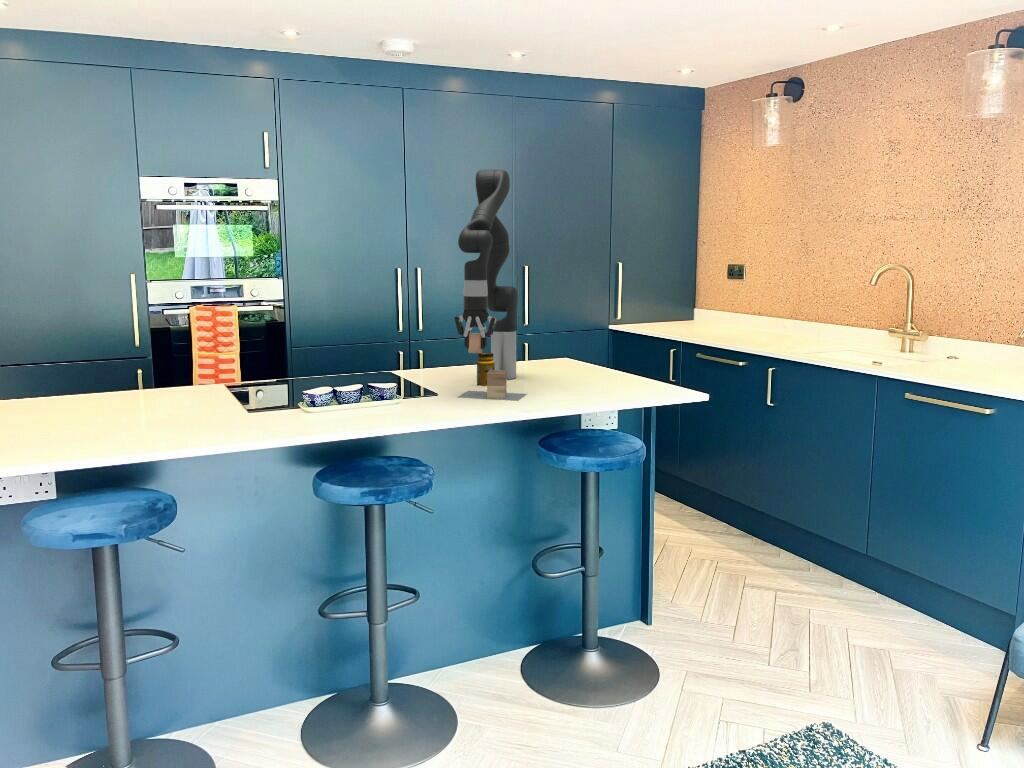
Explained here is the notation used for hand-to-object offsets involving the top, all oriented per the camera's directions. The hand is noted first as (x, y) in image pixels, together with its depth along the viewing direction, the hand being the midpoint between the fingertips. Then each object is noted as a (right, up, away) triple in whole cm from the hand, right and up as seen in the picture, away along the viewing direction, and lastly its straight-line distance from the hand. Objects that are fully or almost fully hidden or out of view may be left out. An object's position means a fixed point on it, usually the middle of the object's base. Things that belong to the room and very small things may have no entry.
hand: (475, 348), depth 266 cm
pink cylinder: (0, -1, 0) cm, 1 cm away
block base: (+7, -15, -3) cm, 17 cm away
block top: (+7, -11, -4) cm, 14 cm away
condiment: (+2, -13, +20) cm, 24 cm away
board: (+5, -16, 0) cm, 17 cm away
